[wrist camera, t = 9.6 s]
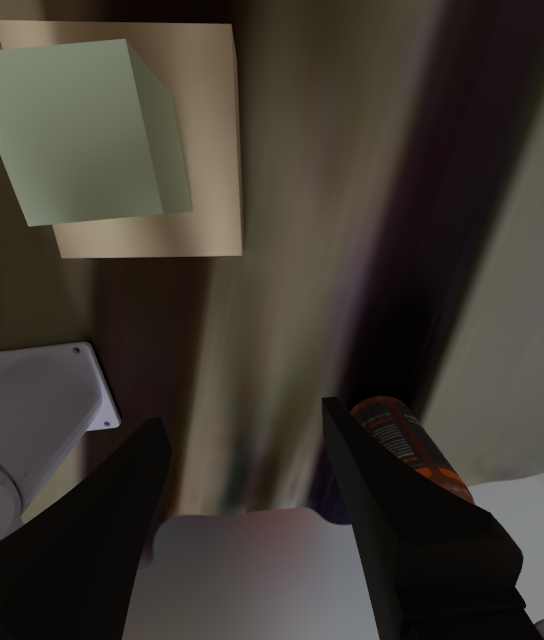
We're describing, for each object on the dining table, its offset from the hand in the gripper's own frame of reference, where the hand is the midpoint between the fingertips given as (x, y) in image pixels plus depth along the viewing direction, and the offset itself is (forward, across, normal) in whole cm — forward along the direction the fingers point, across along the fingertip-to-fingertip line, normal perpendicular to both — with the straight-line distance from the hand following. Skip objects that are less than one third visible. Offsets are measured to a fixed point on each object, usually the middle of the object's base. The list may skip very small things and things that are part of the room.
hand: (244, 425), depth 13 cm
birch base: (+10, +4, -12) cm, 16 cm away
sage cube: (+6, +4, -12) cm, 14 cm away
